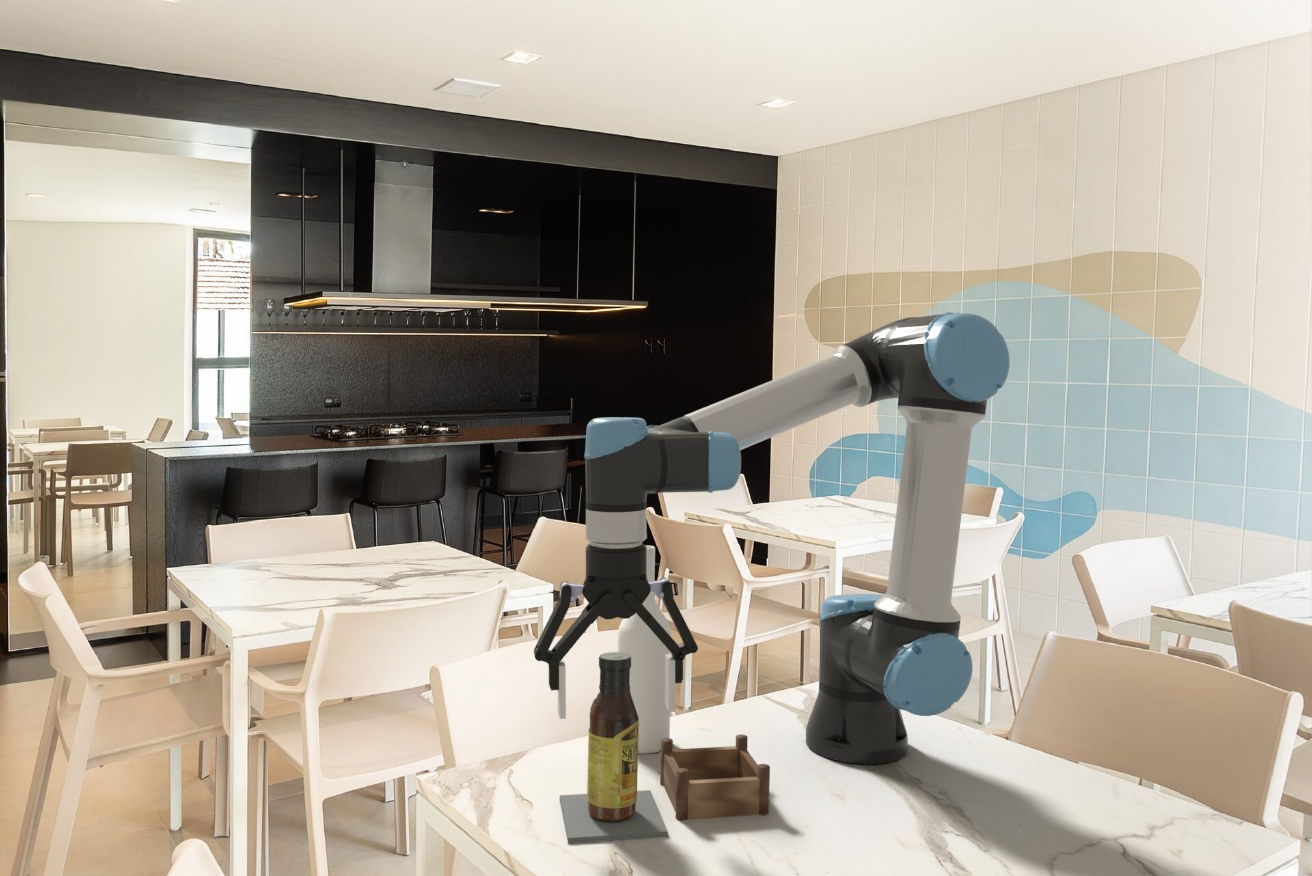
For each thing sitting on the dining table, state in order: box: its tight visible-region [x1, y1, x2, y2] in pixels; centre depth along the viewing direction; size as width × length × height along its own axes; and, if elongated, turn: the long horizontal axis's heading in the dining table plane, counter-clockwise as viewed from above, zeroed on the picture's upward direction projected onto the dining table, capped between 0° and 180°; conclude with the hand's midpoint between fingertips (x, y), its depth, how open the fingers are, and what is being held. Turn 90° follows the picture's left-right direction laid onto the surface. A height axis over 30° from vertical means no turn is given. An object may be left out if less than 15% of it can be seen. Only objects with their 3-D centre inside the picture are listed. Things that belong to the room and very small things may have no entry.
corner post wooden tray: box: [659, 734, 771, 821], centre depth 129 cm, size 12×12×6 cm
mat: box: [559, 789, 669, 844], centre depth 122 cm, size 12×12×1 cm
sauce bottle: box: [586, 651, 639, 822], centre depth 122 cm, size 7×6×20 cm
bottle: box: [616, 545, 672, 755], centre depth 146 cm, size 8×8×30 cm
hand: (616, 711), depth 122 cm, fingers open, 13 cm apart
